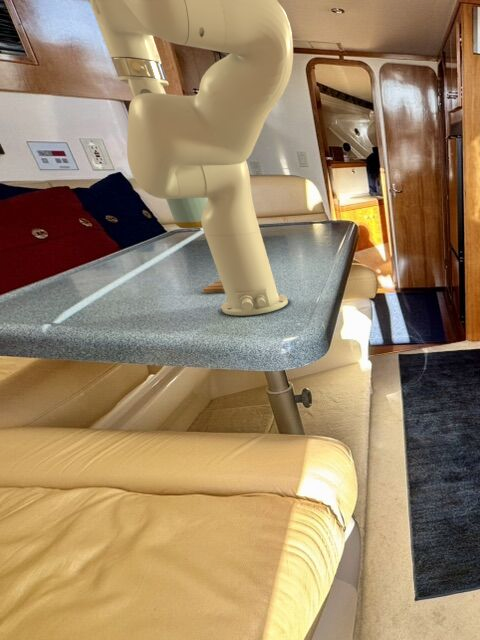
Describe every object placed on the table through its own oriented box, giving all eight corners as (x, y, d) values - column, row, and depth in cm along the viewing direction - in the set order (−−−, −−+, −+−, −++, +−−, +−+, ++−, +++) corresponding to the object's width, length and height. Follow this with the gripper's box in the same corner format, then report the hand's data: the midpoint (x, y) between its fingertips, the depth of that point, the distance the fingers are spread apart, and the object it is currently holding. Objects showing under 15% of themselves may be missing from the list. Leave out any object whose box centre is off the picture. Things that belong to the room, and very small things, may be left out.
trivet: (251, 283, 103) (250, 279, 103) (238, 292, 97) (237, 287, 96) (219, 284, 102) (218, 280, 102) (204, 293, 96) (202, 288, 95)
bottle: (221, 224, 93) (197, 150, 86) (198, 228, 87) (170, 150, 80) (193, 223, 94) (167, 150, 86) (169, 228, 88) (138, 149, 80)
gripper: (161, 68, 72) (198, 178, 81) (169, 82, 85) (200, 175, 94) (107, 63, 69) (151, 178, 77) (124, 78, 81) (160, 175, 90)
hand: (178, 176), depth 86 cm, fingers closed on bottle, 7 cm apart
